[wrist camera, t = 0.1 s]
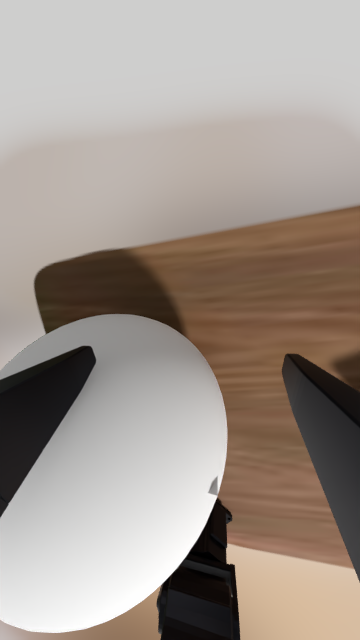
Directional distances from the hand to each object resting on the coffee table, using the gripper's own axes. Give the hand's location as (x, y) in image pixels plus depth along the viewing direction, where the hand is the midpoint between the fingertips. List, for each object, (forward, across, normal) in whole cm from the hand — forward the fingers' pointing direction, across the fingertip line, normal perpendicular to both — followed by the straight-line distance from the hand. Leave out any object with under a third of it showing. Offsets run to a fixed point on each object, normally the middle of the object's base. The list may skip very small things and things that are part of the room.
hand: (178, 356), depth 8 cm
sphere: (+13, +7, +13) cm, 19 cm away
